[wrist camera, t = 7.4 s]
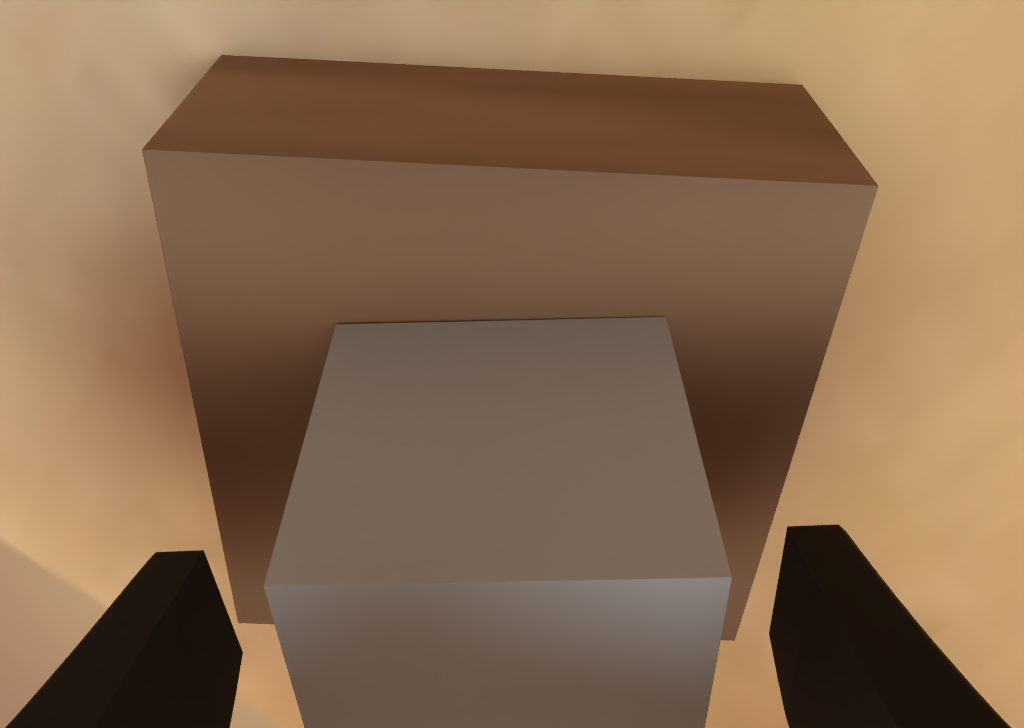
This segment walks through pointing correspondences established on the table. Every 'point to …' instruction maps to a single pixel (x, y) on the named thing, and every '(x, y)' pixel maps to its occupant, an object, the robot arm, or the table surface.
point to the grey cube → (500, 532)
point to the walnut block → (499, 251)
